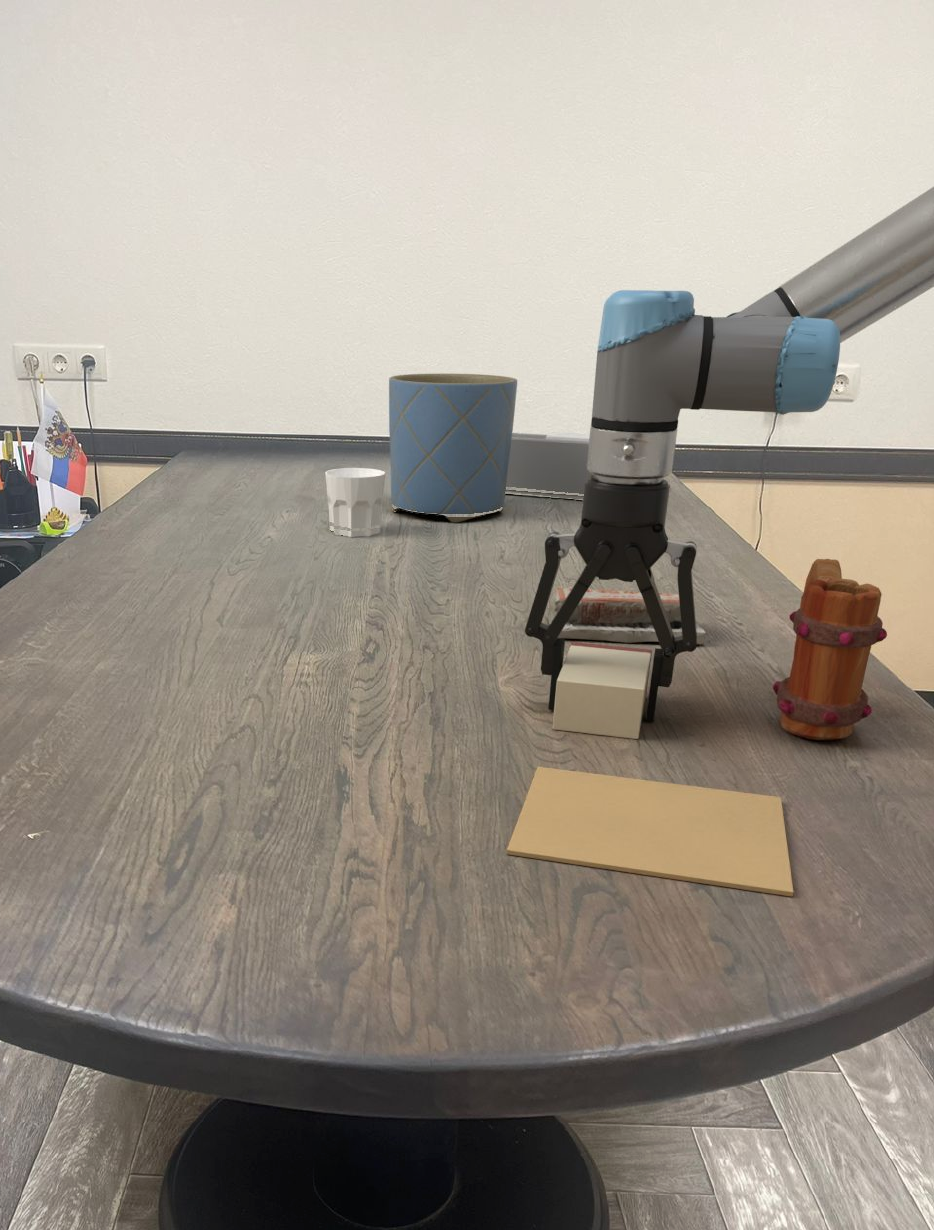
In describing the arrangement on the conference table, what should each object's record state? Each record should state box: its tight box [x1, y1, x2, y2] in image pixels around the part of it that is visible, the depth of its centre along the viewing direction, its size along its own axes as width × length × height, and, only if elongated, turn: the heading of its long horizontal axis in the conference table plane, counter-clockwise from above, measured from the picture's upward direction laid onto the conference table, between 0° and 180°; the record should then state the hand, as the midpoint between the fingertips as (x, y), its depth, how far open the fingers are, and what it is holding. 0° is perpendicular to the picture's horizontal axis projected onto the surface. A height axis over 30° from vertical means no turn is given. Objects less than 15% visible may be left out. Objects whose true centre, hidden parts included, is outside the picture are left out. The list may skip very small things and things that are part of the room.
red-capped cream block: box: [552, 641, 653, 740], centre depth 106 cm, size 8×12×5 cm
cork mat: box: [506, 766, 794, 898], centre depth 84 cm, size 20×16×1 cm
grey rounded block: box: [505, 431, 593, 499], centre depth 217 cm, size 27×9×12 cm, turn 66°
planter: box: [388, 373, 518, 523], centre depth 196 cm, size 23×23×24 cm
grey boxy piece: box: [547, 587, 707, 645], centre depth 131 cm, size 18×5×10 cm
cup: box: [324, 467, 386, 538], centre depth 182 cm, size 10×10×10 cm
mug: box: [772, 558, 888, 741], centre depth 102 cm, size 15×8×15 cm, turn 170°
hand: (601, 710), depth 107 cm, fingers open, 9 cm apart
